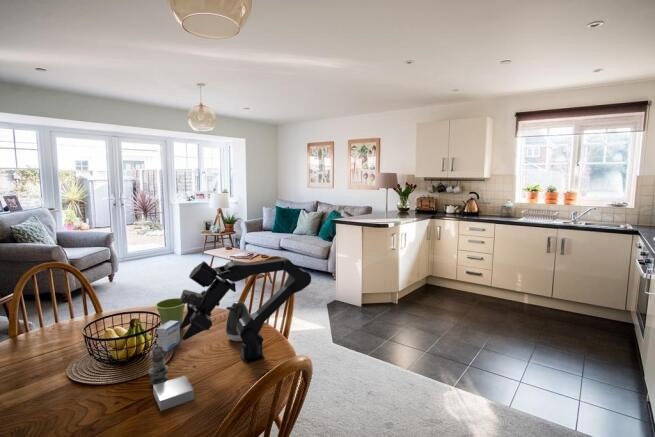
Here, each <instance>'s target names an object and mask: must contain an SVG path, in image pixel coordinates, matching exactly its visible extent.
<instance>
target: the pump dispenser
mask: <svg viewBox="0 0 655 437" xmlns="http://www.w3.org/2000/svg"><path fill="white" fill-rule="evenodd" d="M226 310H227V311H228V313H227V317H226V321H225V329H224V330H225V334H226V336H227V338H229V340H231V341H233V342H242V341H243V340H242V339H241V337H240V335H239V334H238V332H237V329H236V328H237V324H238V322H239V319H241V318H242V317H243V316H244V315H245V314H246V313H247V312H248V313H249V314H250V312H249V310H248V308H247V305H246V304H245V303H244V302H243V301H239V300H238V301H234V302H233V303H232V304H231V306H227V307H226Z"/></svg>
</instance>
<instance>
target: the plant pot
mask: <svg viewBox="0 0 655 437" xmlns="http://www.w3.org/2000/svg"><path fill="white" fill-rule="evenodd" d="M180 298H181V297H174V298H173V297H172V298H167V299H163V300H160V301H158V302H157V303H155V308H157V312H158V314H159V319H160V322H161V326H162V325H163V324H165V323H166V322H168V321H179V329H181V328H180V326H181V324H182V322H183V319H184V312H185V311H184V310H185V305H186V304H183V303H181V300H180Z"/></svg>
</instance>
